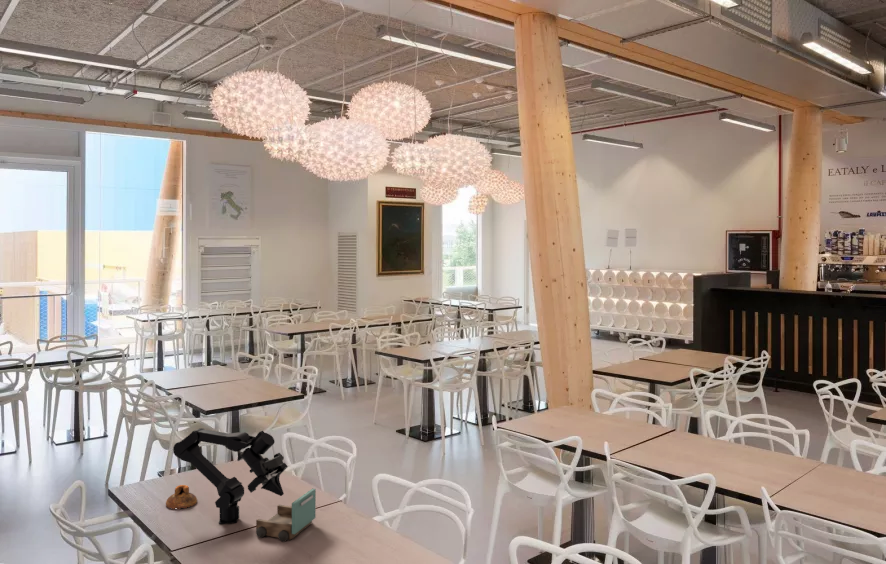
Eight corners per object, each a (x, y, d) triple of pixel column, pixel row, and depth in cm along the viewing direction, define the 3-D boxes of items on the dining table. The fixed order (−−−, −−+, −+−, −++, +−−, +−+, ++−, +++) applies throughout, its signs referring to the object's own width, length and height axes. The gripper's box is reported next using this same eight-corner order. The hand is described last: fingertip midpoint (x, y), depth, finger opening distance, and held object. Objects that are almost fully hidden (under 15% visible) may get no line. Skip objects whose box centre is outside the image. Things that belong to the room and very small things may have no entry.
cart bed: (254, 536, 234) (254, 521, 234) (280, 517, 251) (280, 503, 250) (289, 542, 230) (289, 527, 229) (313, 522, 246) (313, 508, 246)
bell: (202, 499, 268) (202, 481, 268) (188, 510, 256) (187, 492, 256) (174, 497, 269) (174, 480, 269) (159, 509, 257) (159, 491, 257)
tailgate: (291, 533, 231) (291, 503, 230) (312, 517, 245) (312, 488, 244) (297, 534, 230) (297, 503, 229) (317, 518, 244) (317, 489, 243)
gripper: (254, 456, 232) (282, 490, 229) (283, 441, 249) (309, 473, 246) (235, 475, 234) (262, 509, 232) (265, 459, 252) (290, 491, 249)
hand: (282, 495), depth 240 cm, fingers closed
